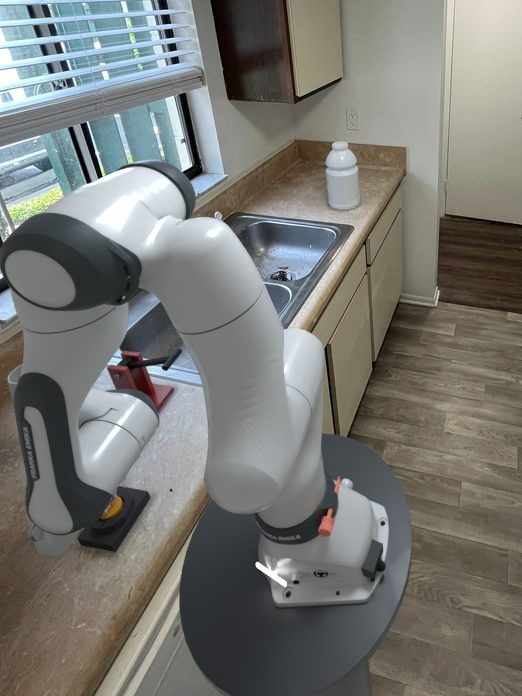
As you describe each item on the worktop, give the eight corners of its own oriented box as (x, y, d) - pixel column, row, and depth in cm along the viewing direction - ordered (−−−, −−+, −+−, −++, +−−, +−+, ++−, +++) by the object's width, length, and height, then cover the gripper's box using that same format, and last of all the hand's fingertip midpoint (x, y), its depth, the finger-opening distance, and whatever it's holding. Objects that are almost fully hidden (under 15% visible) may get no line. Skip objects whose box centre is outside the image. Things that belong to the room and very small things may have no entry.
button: (128, 503, 80) (126, 497, 80) (114, 525, 77) (111, 519, 76) (111, 500, 81) (108, 494, 80) (96, 521, 78) (93, 515, 77)
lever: (184, 354, 96) (179, 346, 95) (170, 372, 92) (164, 364, 91) (132, 362, 100) (126, 354, 100) (116, 379, 96) (110, 371, 95)
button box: (150, 497, 84) (145, 485, 82) (115, 552, 76) (108, 540, 74) (118, 491, 85) (112, 479, 83) (80, 545, 77) (72, 532, 75)
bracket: (174, 389, 106) (159, 347, 100) (149, 423, 98) (131, 379, 92) (133, 384, 107) (117, 342, 101) (105, 416, 99) (85, 373, 93)
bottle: (330, 212, 186) (323, 150, 173) (327, 198, 198) (321, 139, 186) (362, 208, 188) (358, 147, 176) (358, 194, 201) (354, 136, 188)
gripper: (43, 532, 63) (76, 581, 69) (142, 407, 81) (161, 454, 87) (6, 524, 63) (41, 573, 69) (112, 402, 82) (132, 450, 88)
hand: (108, 506), depth 78 cm, fingers closed, pressing on button
